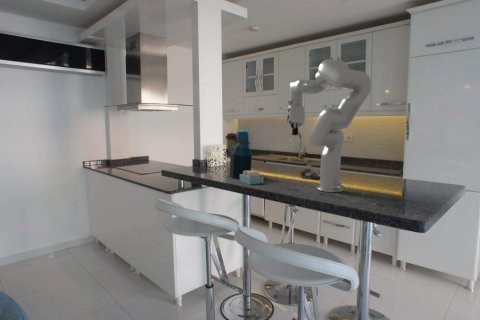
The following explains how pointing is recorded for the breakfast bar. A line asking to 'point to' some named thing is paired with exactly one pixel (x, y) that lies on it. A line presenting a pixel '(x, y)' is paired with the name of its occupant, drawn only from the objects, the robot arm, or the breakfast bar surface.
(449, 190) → the breakfast bar surface
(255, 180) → the bay
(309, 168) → the futuristic pistol
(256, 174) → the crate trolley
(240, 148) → the dark teal bottle
